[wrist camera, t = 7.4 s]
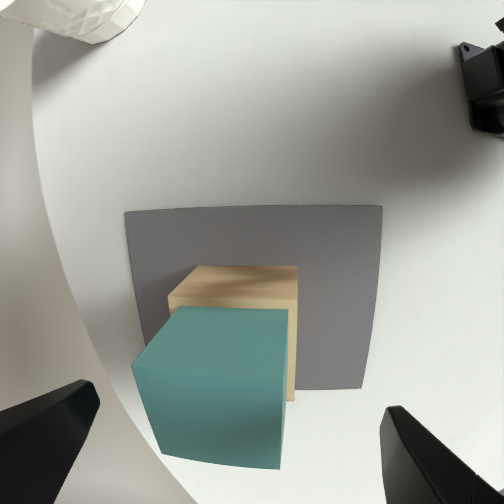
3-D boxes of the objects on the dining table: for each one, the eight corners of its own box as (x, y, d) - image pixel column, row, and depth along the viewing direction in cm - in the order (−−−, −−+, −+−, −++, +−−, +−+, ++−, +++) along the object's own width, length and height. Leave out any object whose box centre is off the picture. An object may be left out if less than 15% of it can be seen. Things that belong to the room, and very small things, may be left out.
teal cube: (288, 308, 13) (282, 380, 8) (286, 393, 14) (279, 469, 10) (180, 305, 14) (131, 365, 9) (193, 386, 15) (161, 453, 10)
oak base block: (297, 265, 18) (297, 299, 13) (295, 351, 19) (293, 401, 14) (198, 264, 19) (167, 296, 14) (208, 347, 20) (185, 392, 15)
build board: (379, 205, 17) (382, 206, 16) (360, 384, 20) (361, 388, 19) (128, 211, 19) (124, 212, 18) (156, 373, 22) (153, 377, 22)
